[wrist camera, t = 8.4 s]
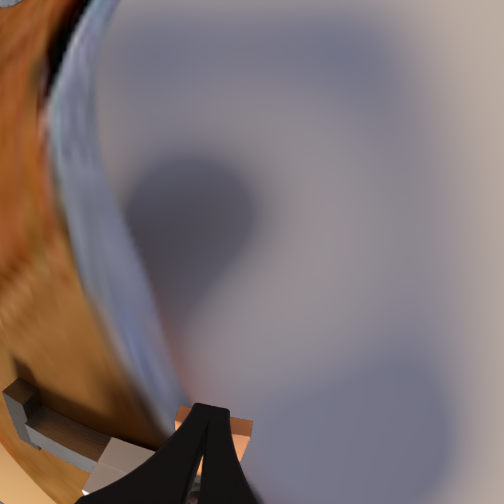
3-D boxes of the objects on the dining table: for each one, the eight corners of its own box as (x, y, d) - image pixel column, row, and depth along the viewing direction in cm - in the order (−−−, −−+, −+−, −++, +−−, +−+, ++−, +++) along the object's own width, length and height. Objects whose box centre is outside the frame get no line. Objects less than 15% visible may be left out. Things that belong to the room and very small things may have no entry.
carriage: (162, 454, 17) (140, 512, 11) (162, 481, 18) (144, 533, 12) (112, 437, 17) (81, 489, 11) (117, 466, 18) (93, 513, 12)
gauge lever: (253, 415, 11) (249, 443, 10) (231, 472, 14) (227, 491, 13) (181, 399, 11) (172, 426, 10) (182, 462, 14) (177, 480, 13)
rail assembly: (231, 446, 17) (220, 515, 11) (216, 498, 19) (207, 552, 13) (15, 366, 17) (-27, 401, 11) (35, 430, 19) (5, 465, 13)
